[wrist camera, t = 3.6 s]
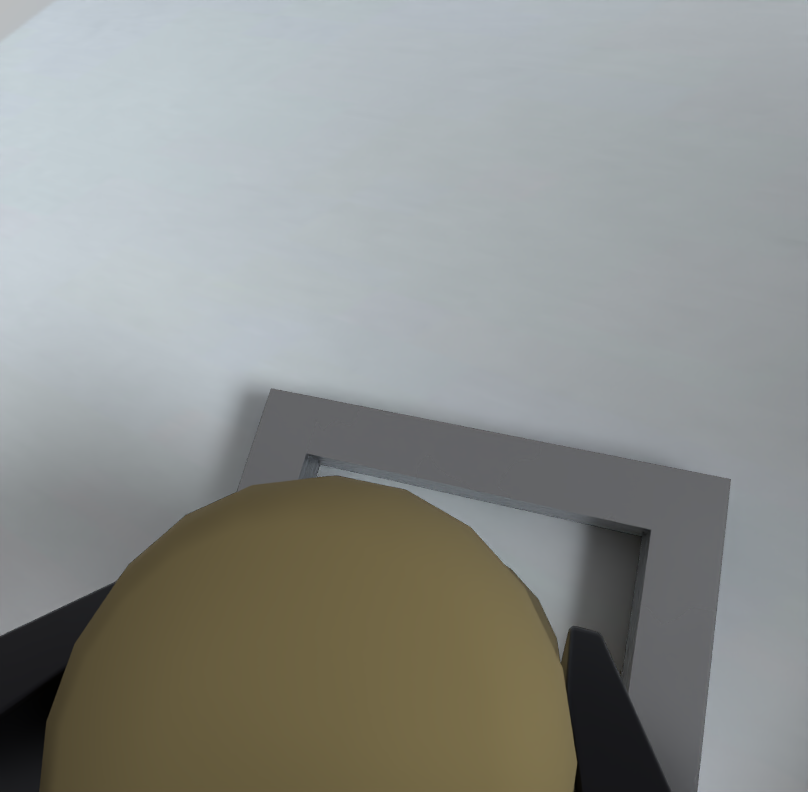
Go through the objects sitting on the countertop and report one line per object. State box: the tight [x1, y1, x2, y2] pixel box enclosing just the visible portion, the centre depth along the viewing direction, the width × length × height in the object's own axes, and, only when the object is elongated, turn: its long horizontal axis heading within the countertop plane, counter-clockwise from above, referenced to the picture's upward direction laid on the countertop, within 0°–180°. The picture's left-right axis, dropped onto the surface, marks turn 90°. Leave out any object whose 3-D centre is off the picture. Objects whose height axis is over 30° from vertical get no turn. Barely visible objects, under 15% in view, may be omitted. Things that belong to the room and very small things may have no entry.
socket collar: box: [237, 388, 731, 792], centre depth 15 cm, size 11×11×1 cm
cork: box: [39, 476, 577, 792], centre depth 10 cm, size 6×6×11 cm
